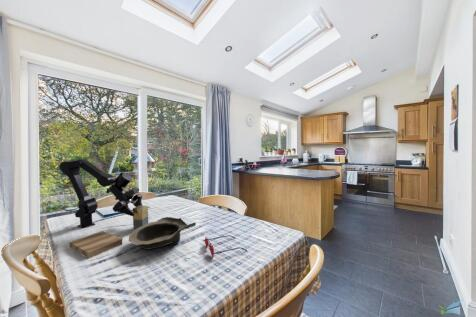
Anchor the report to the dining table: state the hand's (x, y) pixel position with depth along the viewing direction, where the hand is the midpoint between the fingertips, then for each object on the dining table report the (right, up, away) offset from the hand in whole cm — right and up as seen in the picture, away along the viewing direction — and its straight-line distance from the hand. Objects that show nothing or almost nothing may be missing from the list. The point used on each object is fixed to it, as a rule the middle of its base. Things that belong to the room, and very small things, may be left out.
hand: (139, 212), depth 115 cm
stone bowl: (+18, -10, -18) cm, 27 cm away
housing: (+1, -9, 0) cm, 9 cm away
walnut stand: (-10, -10, -20) cm, 24 cm away
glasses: (+49, -10, -22) cm, 55 cm away
